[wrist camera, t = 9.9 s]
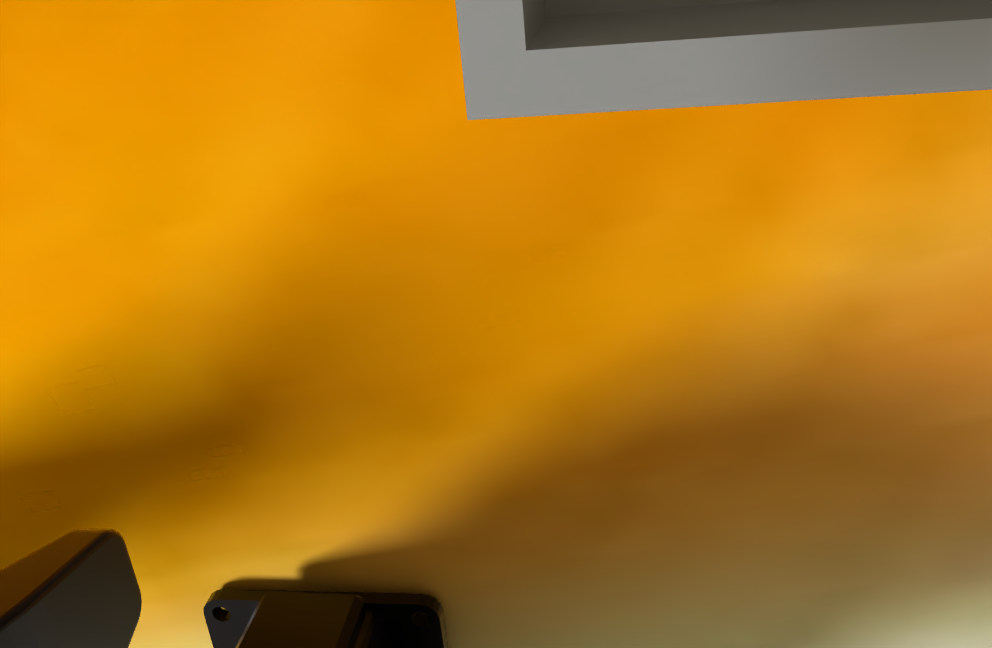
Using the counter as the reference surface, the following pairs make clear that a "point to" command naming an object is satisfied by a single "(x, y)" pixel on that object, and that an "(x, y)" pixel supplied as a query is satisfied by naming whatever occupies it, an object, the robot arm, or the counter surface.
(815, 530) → the counter surface
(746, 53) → the big crate
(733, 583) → the counter surface
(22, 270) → the counter surface
